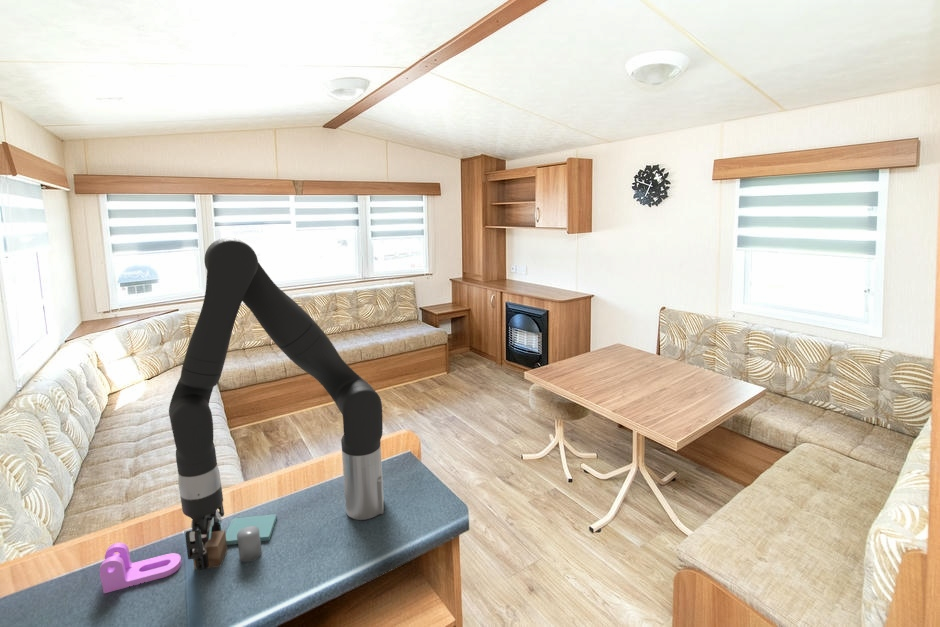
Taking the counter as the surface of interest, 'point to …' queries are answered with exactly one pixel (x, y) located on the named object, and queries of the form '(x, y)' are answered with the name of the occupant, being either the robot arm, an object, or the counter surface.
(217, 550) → the walnut block
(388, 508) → the counter surface
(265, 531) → the teal mat
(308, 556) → the counter surface
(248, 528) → the grey rounded part
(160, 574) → the bracket
